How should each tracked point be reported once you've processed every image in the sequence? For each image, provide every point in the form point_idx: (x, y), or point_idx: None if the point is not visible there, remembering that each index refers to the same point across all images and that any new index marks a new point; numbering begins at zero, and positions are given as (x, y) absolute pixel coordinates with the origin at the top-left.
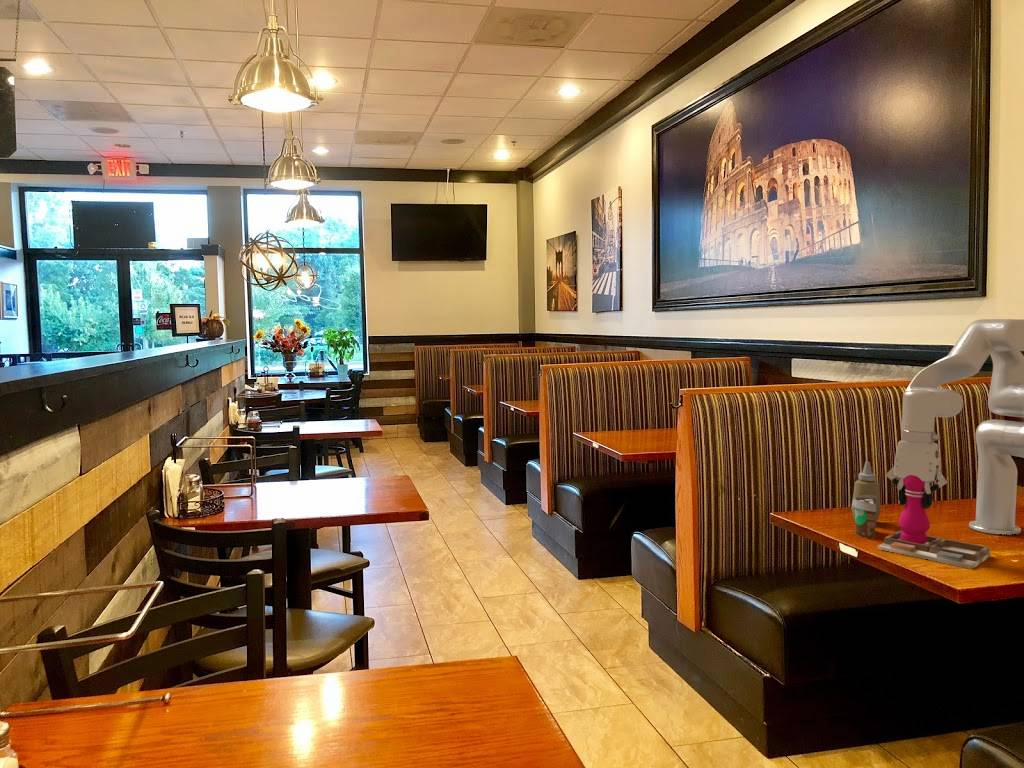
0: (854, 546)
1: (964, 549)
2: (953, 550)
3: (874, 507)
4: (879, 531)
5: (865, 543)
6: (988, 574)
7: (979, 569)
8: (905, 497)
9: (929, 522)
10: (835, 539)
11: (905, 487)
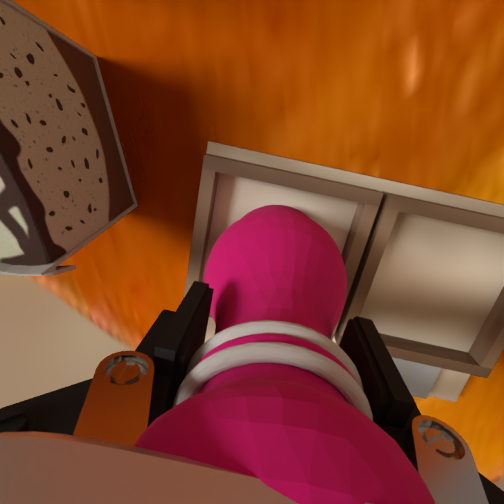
0: (117, 331)
1: (458, 226)
2: (416, 353)
3: (51, 273)
4: (110, 47)
5: (131, 280)
6: (487, 415)
7: (470, 383)
8: (197, 347)
9: (346, 277)
10: (41, 283)
11: (163, 401)
